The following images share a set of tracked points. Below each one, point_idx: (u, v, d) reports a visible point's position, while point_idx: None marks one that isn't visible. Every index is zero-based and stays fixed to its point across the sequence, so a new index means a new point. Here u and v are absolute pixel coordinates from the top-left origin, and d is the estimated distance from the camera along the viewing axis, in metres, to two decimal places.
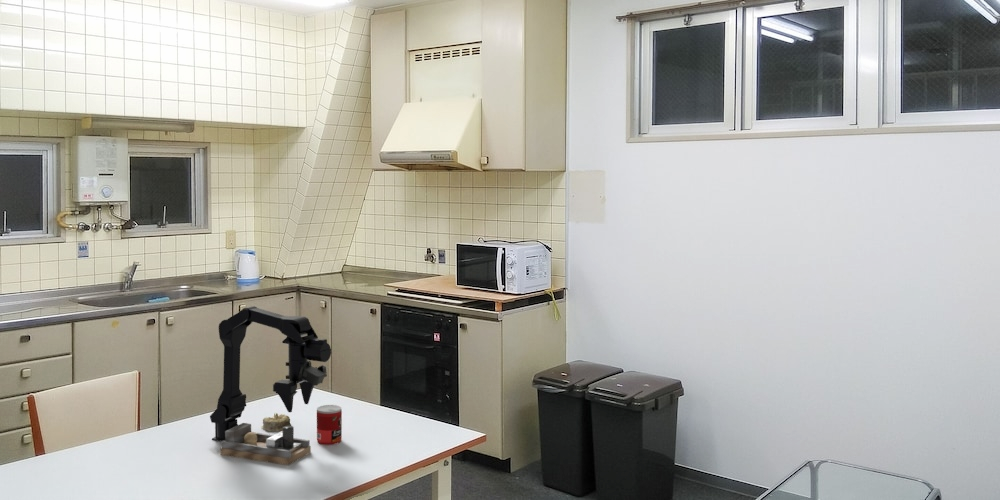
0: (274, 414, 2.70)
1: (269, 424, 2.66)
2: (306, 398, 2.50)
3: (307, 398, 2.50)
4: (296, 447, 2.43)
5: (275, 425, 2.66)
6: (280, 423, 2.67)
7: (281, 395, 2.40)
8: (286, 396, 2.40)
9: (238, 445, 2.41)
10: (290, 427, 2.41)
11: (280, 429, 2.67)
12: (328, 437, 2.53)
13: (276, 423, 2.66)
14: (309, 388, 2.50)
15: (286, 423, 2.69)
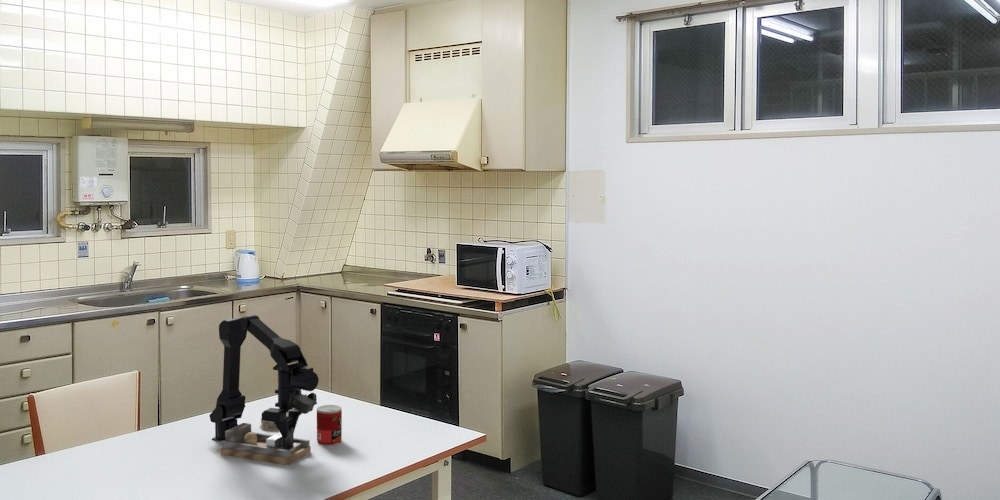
0: None
1: (267, 423, 2.67)
2: None
3: None
4: (296, 447, 2.43)
5: (273, 424, 2.67)
6: None
7: None
8: (281, 422, 2.38)
9: (238, 445, 2.41)
10: (290, 427, 2.41)
11: None
12: (328, 437, 2.53)
13: None
14: (294, 418, 2.43)
15: None
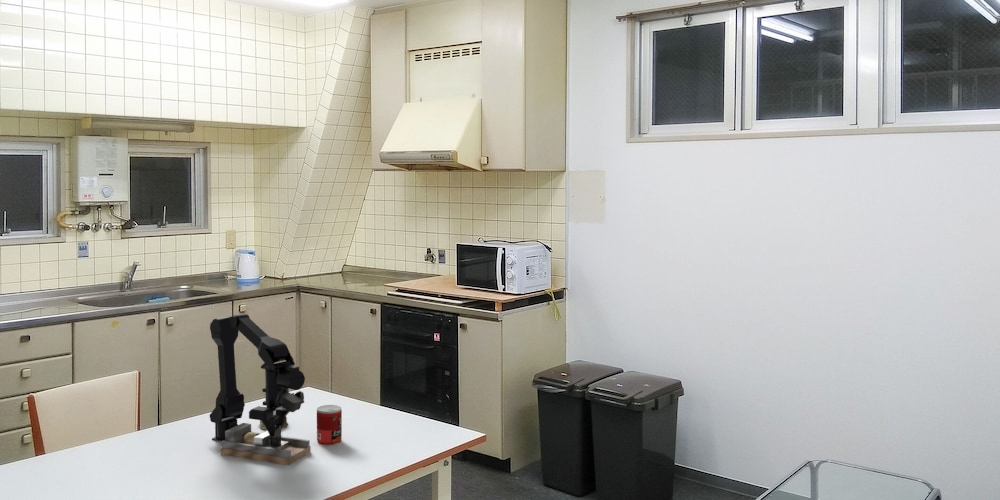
0: None
1: None
2: None
3: None
4: (284, 445, 2.44)
5: None
6: None
7: None
8: (268, 420, 2.40)
9: (238, 445, 2.41)
10: (278, 425, 2.43)
11: None
12: (328, 437, 2.53)
13: None
14: (282, 417, 2.44)
15: None
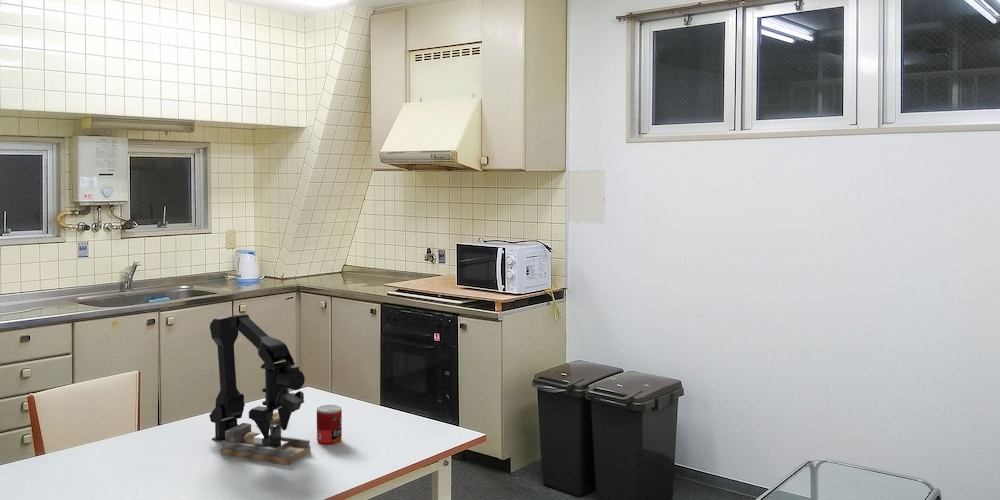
0: None
1: None
2: (284, 424, 2.47)
3: (285, 424, 2.47)
4: (284, 445, 2.44)
5: (270, 423, 2.68)
6: (275, 421, 2.69)
7: (257, 422, 2.37)
8: (262, 423, 2.37)
9: (238, 445, 2.41)
10: (278, 425, 2.43)
11: None
12: (328, 437, 2.53)
13: (271, 421, 2.68)
14: (287, 414, 2.47)
15: None
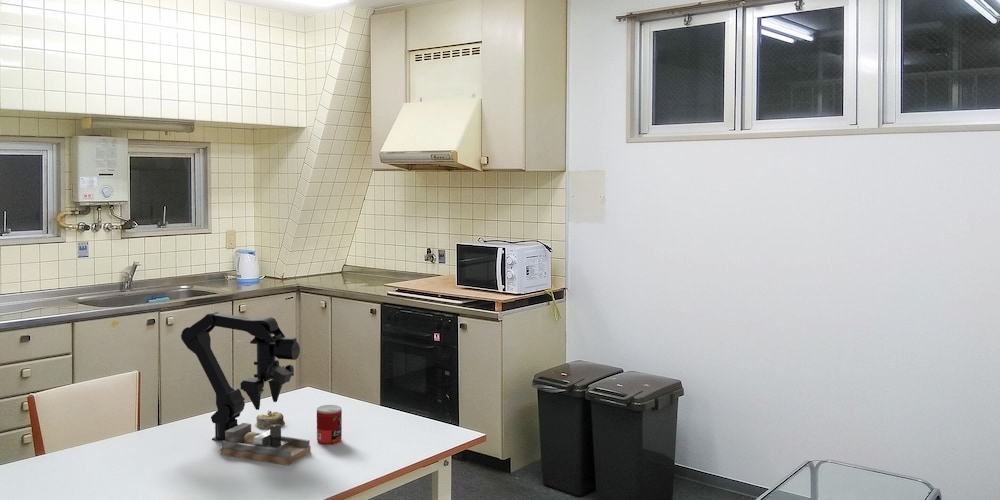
0: (268, 411, 2.72)
1: (263, 421, 2.69)
2: (275, 397, 2.58)
3: (276, 396, 2.58)
4: (284, 445, 2.44)
5: (269, 422, 2.69)
6: (274, 421, 2.70)
7: (249, 393, 2.48)
8: (253, 394, 2.48)
9: (238, 445, 2.41)
10: (278, 425, 2.43)
11: None
12: (328, 437, 2.53)
13: (270, 420, 2.69)
14: (278, 387, 2.58)
15: (279, 420, 2.71)
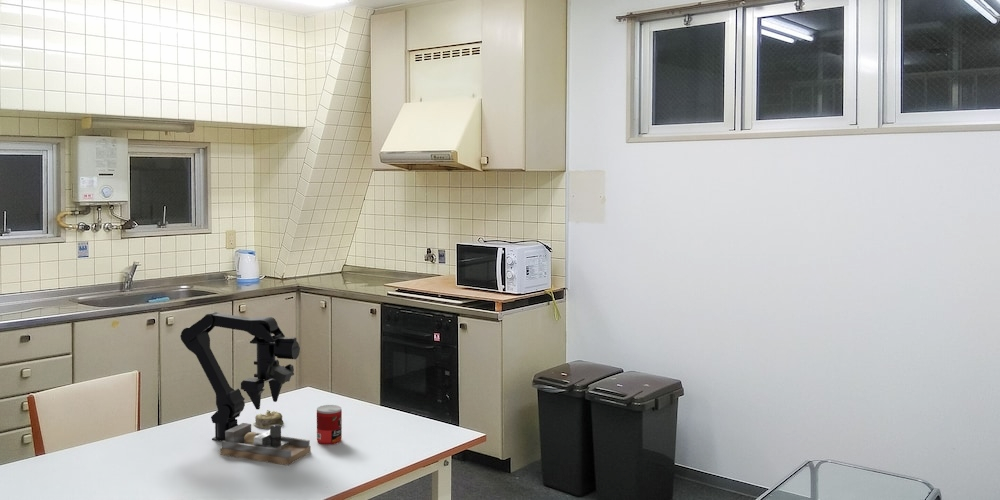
0: None
1: (261, 421, 2.69)
2: (275, 396, 2.58)
3: (276, 396, 2.58)
4: (284, 445, 2.44)
5: (267, 422, 2.69)
6: (273, 420, 2.70)
7: (249, 393, 2.48)
8: (254, 394, 2.48)
9: (238, 445, 2.41)
10: (278, 425, 2.43)
11: None
12: (328, 437, 2.53)
13: (268, 420, 2.69)
14: (278, 386, 2.58)
15: (278, 420, 2.72)
